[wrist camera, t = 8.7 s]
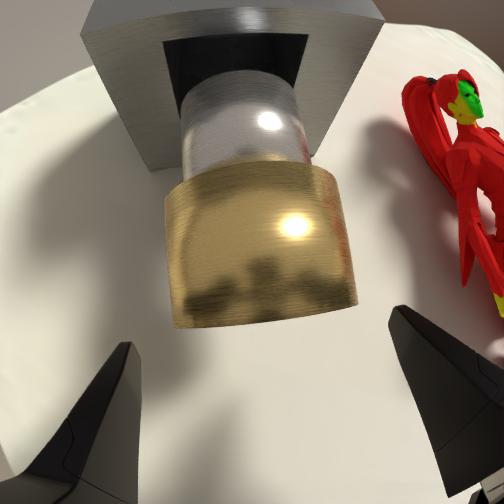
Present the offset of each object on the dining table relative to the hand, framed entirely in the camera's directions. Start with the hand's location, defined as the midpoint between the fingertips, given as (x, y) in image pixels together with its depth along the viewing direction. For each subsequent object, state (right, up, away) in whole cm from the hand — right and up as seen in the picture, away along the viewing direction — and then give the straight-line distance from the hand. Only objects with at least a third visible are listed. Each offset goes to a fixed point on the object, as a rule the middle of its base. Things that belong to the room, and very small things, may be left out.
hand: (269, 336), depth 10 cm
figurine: (+19, +2, +10) cm, 22 cm away
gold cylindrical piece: (-1, +4, +4) cm, 6 cm away
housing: (-2, +12, +10) cm, 16 cm away
